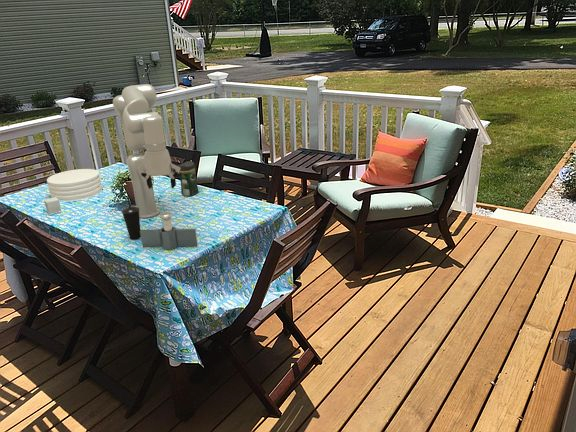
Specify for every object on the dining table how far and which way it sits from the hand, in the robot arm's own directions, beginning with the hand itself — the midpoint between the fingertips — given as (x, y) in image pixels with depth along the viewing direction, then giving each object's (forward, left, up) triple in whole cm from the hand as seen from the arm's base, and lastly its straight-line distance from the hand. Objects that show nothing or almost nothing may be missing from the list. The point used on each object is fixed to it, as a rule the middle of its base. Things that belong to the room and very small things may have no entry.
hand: (162, 187), depth 197 cm
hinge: (0, -2, -26) cm, 26 cm away
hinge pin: (0, -2, -26) cm, 26 cm away
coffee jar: (-8, +66, -27) cm, 72 cm away
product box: (-75, +42, -27) cm, 90 cm away
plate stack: (-76, +71, -27) cm, 107 cm away
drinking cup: (-19, +8, -27) cm, 33 cm away
